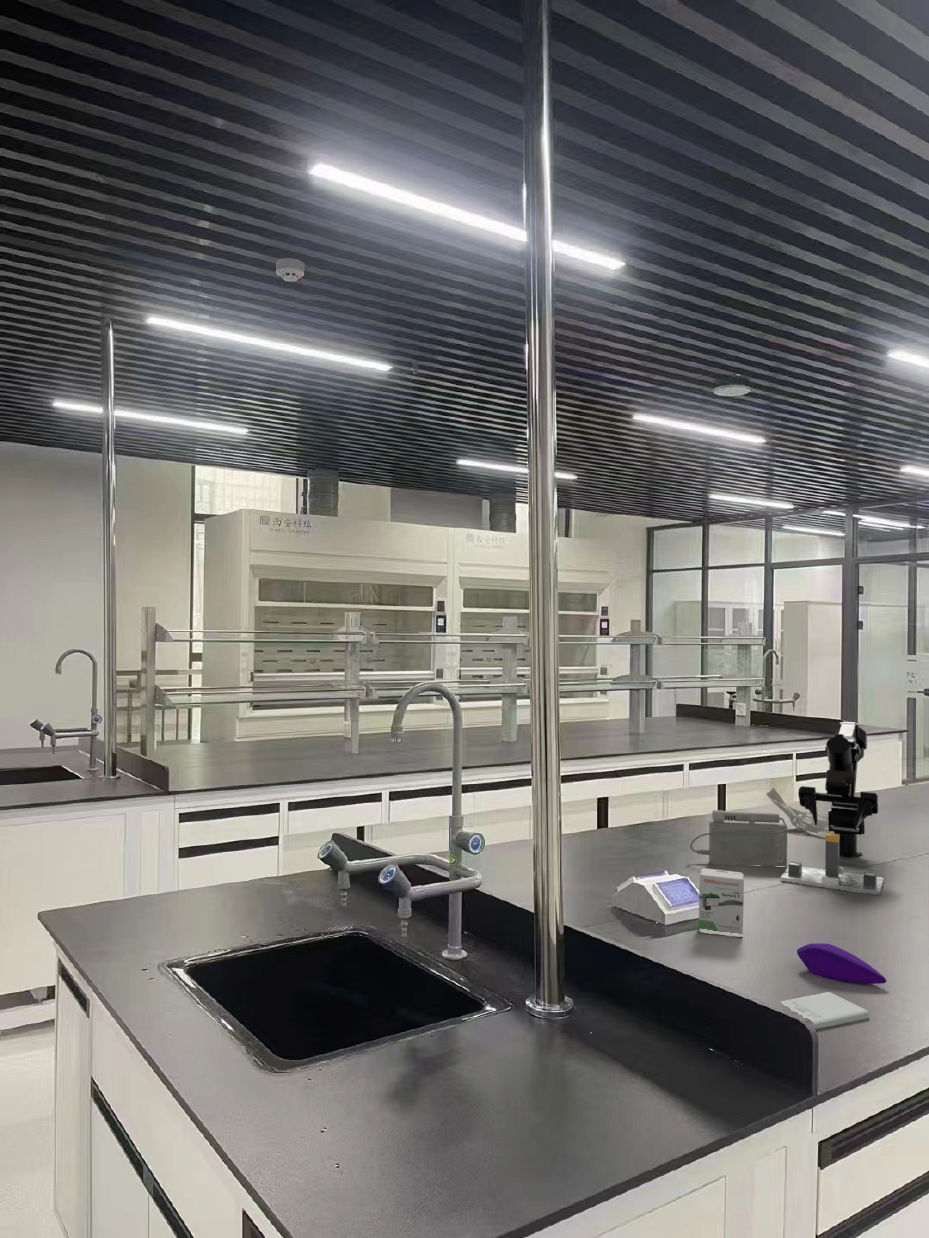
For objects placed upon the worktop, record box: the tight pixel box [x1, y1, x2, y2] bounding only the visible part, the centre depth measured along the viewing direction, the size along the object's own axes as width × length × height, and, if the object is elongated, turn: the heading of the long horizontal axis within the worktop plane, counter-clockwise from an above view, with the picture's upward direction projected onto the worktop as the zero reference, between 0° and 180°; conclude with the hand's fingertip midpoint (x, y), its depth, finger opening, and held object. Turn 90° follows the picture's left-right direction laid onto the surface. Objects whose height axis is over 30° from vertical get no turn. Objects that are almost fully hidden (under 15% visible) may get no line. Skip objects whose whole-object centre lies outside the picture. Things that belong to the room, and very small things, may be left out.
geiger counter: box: [689, 809, 788, 867], centre depth 226 cm, size 14×6×25 cm
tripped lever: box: [824, 832, 840, 877], centre depth 211 cm, size 3×3×10 cm
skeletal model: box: [766, 787, 830, 834], centre depth 271 cm, size 16×9×25 cm
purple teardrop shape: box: [796, 942, 888, 985], centre depth 149 cm, size 5×5×15 cm
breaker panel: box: [780, 861, 885, 897], centre depth 211 cm, size 14×22×4 cm, turn 61°
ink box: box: [698, 867, 745, 935], centre depth 172 cm, size 9×5×12 cm, turn 73°
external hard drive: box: [780, 991, 870, 1030], centre depth 134 cm, size 2×8×12 cm
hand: (835, 826), depth 216 cm, fingers open, 9 cm apart
